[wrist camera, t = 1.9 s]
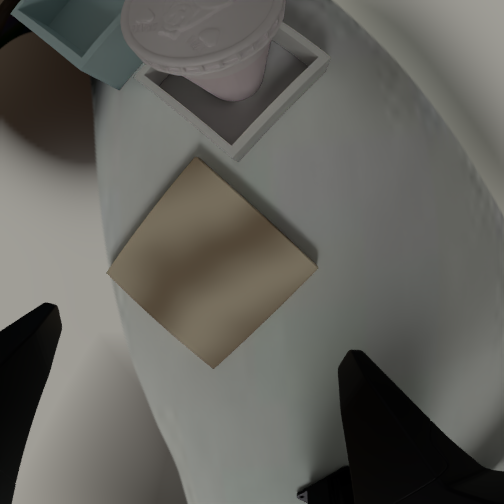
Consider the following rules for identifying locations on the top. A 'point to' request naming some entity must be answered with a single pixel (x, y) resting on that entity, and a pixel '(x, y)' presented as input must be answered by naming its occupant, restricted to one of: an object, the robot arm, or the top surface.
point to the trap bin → (83, 35)
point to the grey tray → (316, 68)
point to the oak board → (209, 264)
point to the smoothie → (205, 40)
